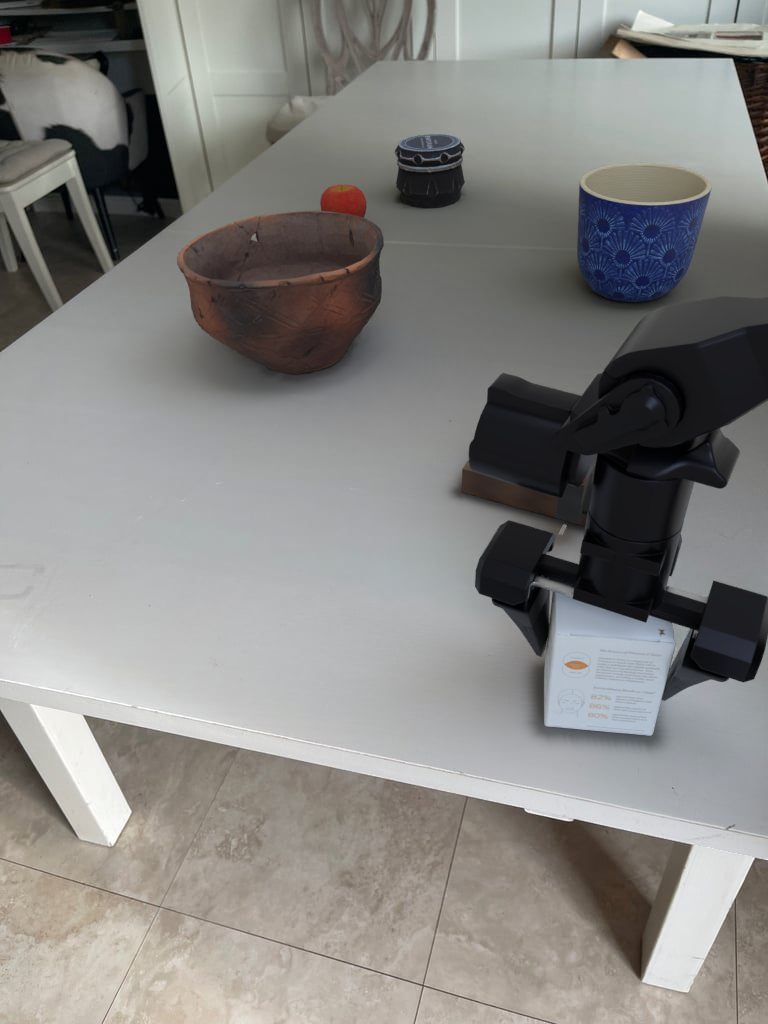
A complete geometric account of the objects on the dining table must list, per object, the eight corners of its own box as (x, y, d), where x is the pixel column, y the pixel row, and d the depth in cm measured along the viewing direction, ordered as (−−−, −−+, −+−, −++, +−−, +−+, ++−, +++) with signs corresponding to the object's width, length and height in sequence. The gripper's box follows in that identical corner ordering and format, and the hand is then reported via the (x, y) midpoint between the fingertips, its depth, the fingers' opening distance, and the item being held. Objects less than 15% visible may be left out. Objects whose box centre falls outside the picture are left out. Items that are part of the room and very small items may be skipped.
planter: (705, 279, 118) (728, 171, 109) (665, 326, 108) (687, 211, 98) (596, 258, 126) (608, 156, 117) (549, 299, 116) (558, 191, 106)
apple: (376, 228, 141) (374, 182, 136) (344, 242, 137) (340, 195, 132) (345, 218, 145) (342, 173, 140) (313, 232, 141) (309, 186, 136)
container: (385, 194, 154) (382, 139, 148) (444, 182, 158) (444, 128, 152) (415, 214, 145) (413, 156, 139) (477, 201, 149) (478, 144, 142)
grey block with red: (588, 459, 81) (594, 419, 78) (610, 464, 80) (616, 424, 77) (555, 517, 74) (560, 476, 71) (578, 524, 73) (584, 482, 70)
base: (680, 468, 84) (686, 443, 82) (634, 582, 71) (639, 556, 69) (507, 427, 91) (509, 403, 89) (438, 524, 79) (438, 499, 77)
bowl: (272, 299, 120) (257, 196, 111) (420, 329, 111) (418, 219, 101) (163, 377, 104) (134, 264, 94) (326, 420, 94) (312, 299, 85)
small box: (646, 678, 63) (669, 583, 57) (653, 739, 59) (679, 643, 52) (542, 669, 65) (553, 574, 58) (541, 728, 60) (554, 633, 54)
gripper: (813, 479, 52) (750, 640, 62) (535, 412, 59) (519, 567, 69) (791, 591, 44) (724, 754, 54) (476, 500, 51) (468, 659, 61)
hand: (600, 673), depth 60 cm, fingers closed on small box, 9 cm apart
